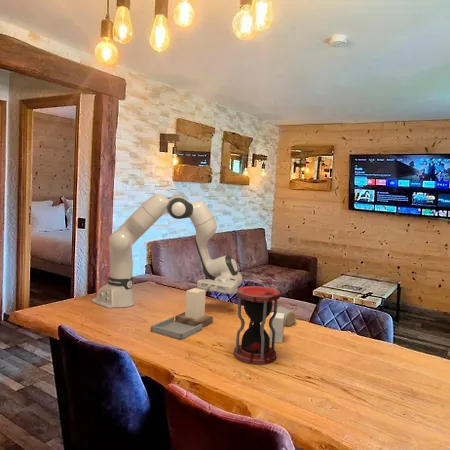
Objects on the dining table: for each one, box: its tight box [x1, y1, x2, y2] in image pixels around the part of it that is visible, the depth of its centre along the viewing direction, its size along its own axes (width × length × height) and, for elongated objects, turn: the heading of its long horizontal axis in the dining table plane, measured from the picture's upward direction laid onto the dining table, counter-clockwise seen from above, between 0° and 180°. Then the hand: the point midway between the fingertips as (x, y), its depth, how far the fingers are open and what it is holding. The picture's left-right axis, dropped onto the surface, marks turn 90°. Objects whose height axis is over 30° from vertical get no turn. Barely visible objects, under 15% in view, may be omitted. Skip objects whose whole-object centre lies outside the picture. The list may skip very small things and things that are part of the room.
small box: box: [268, 311, 285, 344], centre depth 175 cm, size 8×6×10 cm
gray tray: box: [150, 316, 203, 341], centre depth 180 cm, size 16×16×2 cm
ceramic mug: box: [277, 306, 297, 327], centre depth 197 cm, size 11×8×8 cm
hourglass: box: [233, 285, 281, 365], centre depth 157 cm, size 16×16×25 cm
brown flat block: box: [174, 311, 214, 329], centre depth 191 cm, size 14×10×3 cm
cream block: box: [184, 287, 207, 319], centre depth 191 cm, size 6×7×12 cm
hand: (208, 289), depth 200 cm, fingers closed
